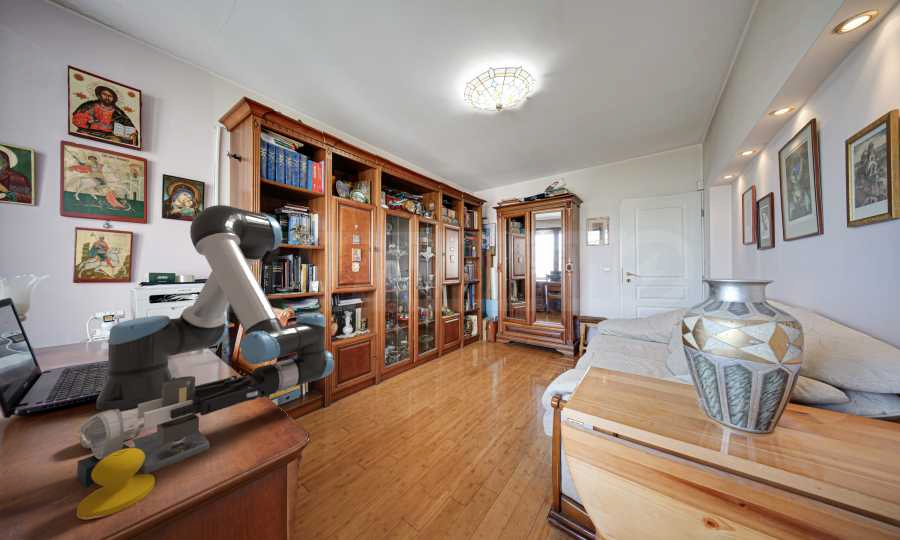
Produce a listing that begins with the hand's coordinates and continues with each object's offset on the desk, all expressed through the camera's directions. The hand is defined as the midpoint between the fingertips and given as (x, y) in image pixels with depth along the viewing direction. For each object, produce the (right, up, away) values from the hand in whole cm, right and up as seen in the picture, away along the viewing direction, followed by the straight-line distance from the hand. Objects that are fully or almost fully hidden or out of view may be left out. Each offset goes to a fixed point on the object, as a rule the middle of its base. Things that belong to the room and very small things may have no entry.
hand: (141, 416), depth 52 cm
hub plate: (0, -10, +5) cm, 11 cm away
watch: (-5, -10, -2) cm, 11 cm away
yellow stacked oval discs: (+5, -10, -7) cm, 13 cm away
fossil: (-16, -10, +9) cm, 21 cm away
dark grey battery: (+3, -6, +4) cm, 8 cm away
